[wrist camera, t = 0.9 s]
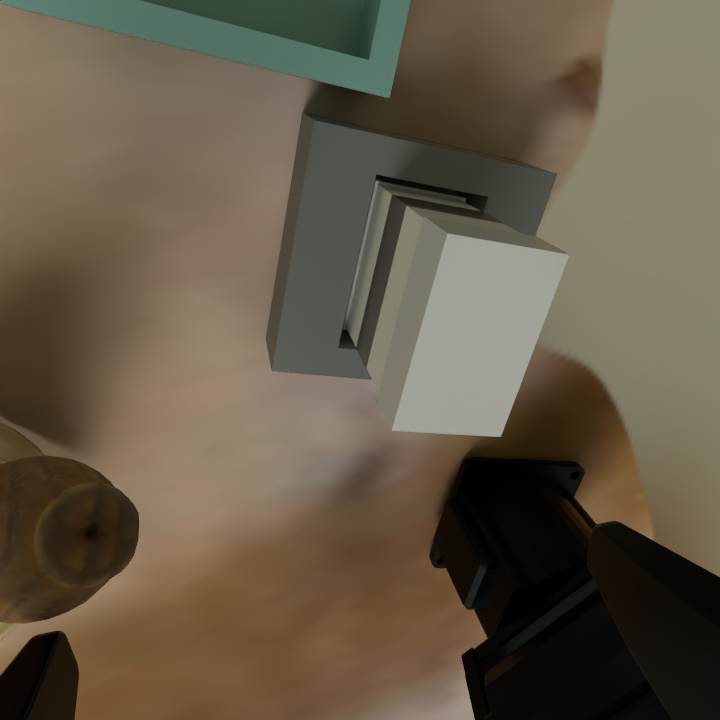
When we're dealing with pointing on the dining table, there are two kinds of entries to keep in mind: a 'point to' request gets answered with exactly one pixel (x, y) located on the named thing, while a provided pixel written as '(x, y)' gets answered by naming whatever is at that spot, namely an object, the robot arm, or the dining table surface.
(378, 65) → the parts tray
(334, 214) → the socket block
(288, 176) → the dining table surface
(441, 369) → the block
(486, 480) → the robot arm
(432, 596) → the dining table surface
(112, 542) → the hand bell
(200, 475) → the dining table surface
